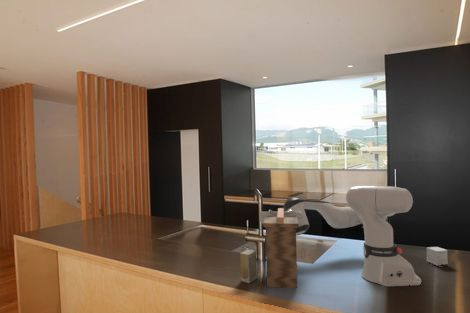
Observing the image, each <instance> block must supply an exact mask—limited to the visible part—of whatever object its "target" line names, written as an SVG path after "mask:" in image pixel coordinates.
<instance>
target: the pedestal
mask: <svg viewBox="0 0 470 313" xmlns="http://www.w3.org/2000/svg"><path fill="white" fill-rule="evenodd" d="M262 227H263V228H265V244H266V245H265V246H266V247H265V250H266V251H265V252H266V259H265V260H266V286H267V288H286V289H287V288H289V289H298V266H297V265H298V261H297V235H296V227H299V226H298V219H297V217H284V224H277V217H265V218H264V221H263V224H262Z"/></svg>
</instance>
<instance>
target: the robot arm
mask: <svg viewBox="0 0 470 313" xmlns="http://www.w3.org/2000/svg"><path fill="white" fill-rule="evenodd" d="M345 199H346V200H345V201H346V203H347V205H348V206H336V205H333V204H332V203H330V202H329V201H324V200H317V199H315V200H314V199H304V198H299V197H290V198H288V199H286V200H285V202H284V203H283V207H282V208H284V217H297V219H298V226H299V227H296V236H302V235H303V234H305V233H306V232H307V231H308V230H309V228H310V222H309V219H308V216H307V215H306V211H305V210H314V211H316V212H318V213H319V214H320V215H321V216H322V217H323V219H324V220H325V221H326V223H327V224H328V225H330V227H332V228H333V229H346V228H350V227H355V226H358V225H361V228H362V229H363V233H364V234H363V235H364V243H363V256H364V258H363V260H364V261H363V267H362V271H361V277H362V278H363V279H364V280H366V281H368V282H372V283H375V284H379V285H381V286H384V287H406V286H407V287H409V285H410V286H421V285H422V284H421V282H422V279H421V278H420V276H418V275H417V274H416V272H415V269H414V267H413V265H412V264H411V263H410V262H409V261H408V260H406V259H405V258H404V257H402V256H401V255H400V254H402V253H403V249H402V248H400V247H398V246H396V245H395V244H394V228H393V227H392V225H391V224H390V223H389V222H388V220H387V219H386V218H387V217H392V216H394V215H396V214H401V213H403V214H404V213H408V212H409V211H410V210H411V208H412V207H413V204H414V200H413V195H412V193H411V192H410V190H408V189H407V188H404V187H398V186H390V185H389V186H381V185H355V186H351V187H350V188H349V189H348V190H347V192H346V196H345ZM277 215H278V211H273V210H272V209H269V210H268V211H259V221H260V223H261V224H262V225H263V221H264V218H265V217H277ZM420 284H421V285H420Z"/></svg>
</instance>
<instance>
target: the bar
mask: <svg viewBox="0 0 470 313" xmlns="http://www.w3.org/2000/svg"><path fill="white" fill-rule="evenodd" d="M277 212H278V215H277V224H284V212H285V210H284V207H279V208H277Z"/></svg>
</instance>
